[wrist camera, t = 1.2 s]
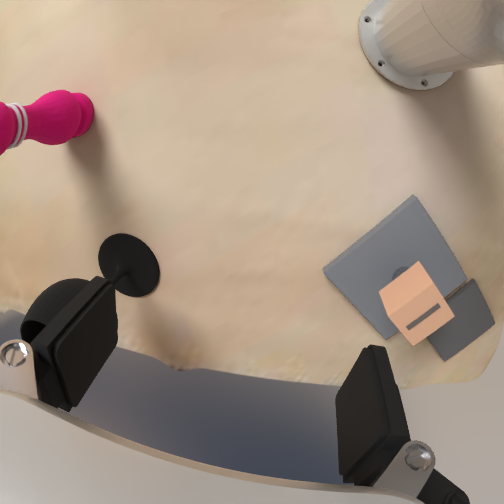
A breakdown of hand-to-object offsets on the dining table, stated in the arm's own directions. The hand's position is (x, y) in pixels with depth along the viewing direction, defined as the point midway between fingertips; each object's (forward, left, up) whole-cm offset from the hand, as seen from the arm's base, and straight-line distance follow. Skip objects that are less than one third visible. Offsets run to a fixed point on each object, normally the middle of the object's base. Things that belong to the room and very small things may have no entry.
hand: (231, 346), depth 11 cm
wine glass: (+24, -6, -29) cm, 38 cm away
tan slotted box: (-4, +20, -23) cm, 31 cm away
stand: (-4, +20, -28) cm, 35 cm away
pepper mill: (+12, -26, -29) cm, 41 cm away
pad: (-7, +35, -28) cm, 46 cm away
